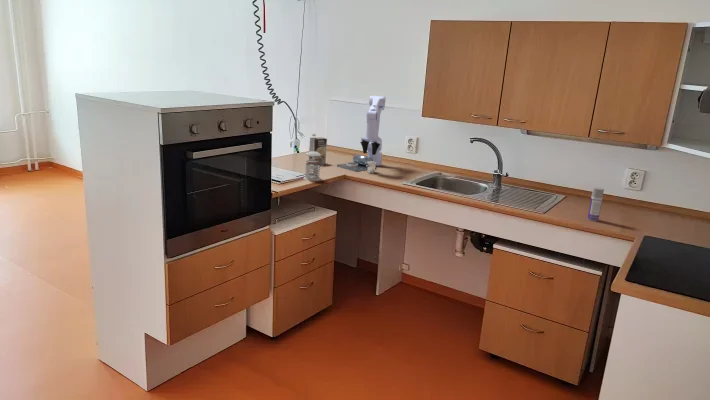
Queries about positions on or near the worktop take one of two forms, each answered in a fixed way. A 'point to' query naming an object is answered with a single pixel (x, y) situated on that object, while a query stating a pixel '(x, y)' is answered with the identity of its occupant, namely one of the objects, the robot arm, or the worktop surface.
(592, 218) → the container
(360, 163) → the motor mount
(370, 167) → the white mushroom knob
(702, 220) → the worktop surface
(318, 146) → the coffee box
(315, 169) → the french press
